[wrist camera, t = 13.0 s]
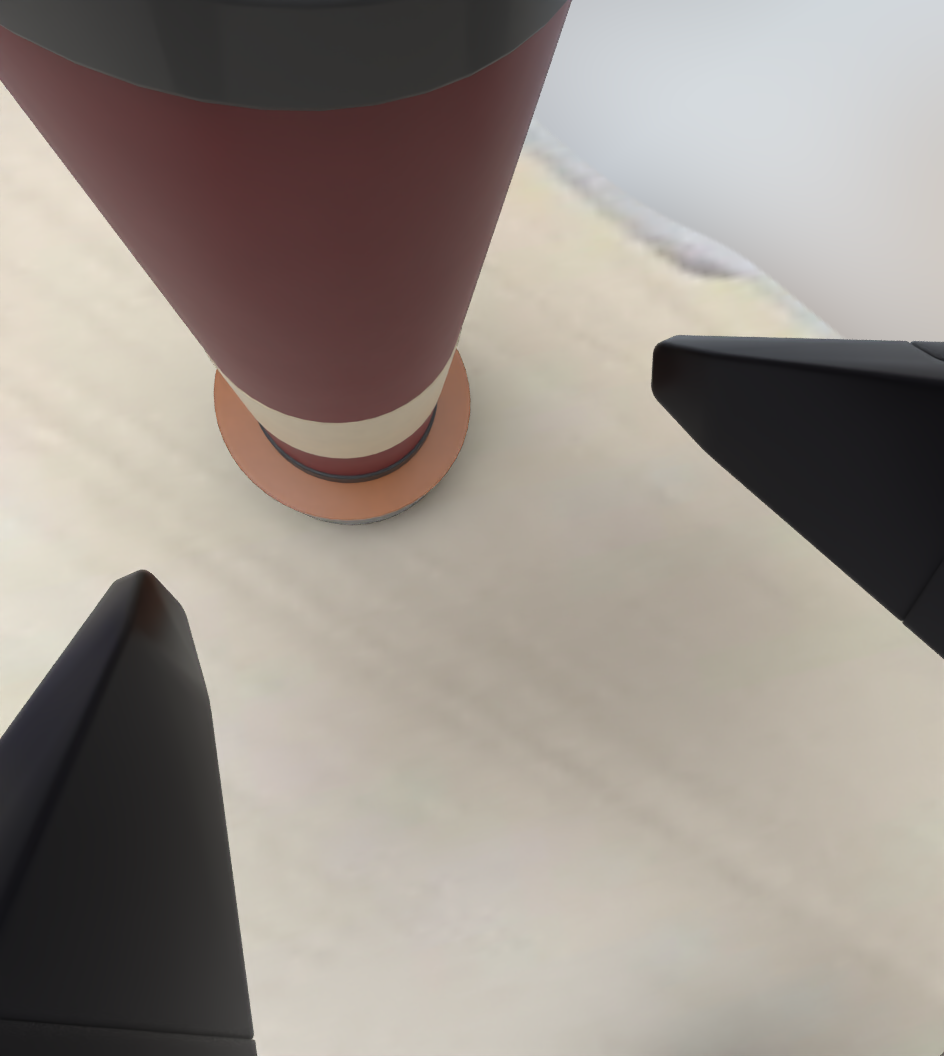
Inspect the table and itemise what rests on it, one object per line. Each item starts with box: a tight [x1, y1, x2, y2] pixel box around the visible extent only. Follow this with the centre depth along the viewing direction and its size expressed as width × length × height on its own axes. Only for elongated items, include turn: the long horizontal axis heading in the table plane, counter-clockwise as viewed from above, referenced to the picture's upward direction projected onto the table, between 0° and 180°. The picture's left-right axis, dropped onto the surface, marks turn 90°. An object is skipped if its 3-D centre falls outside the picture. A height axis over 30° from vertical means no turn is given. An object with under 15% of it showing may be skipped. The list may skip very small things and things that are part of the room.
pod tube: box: [0, 0, 572, 483], centre depth 9 cm, size 5×5×14 cm
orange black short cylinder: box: [214, 348, 470, 525], centre depth 18 cm, size 8×8×3 cm
